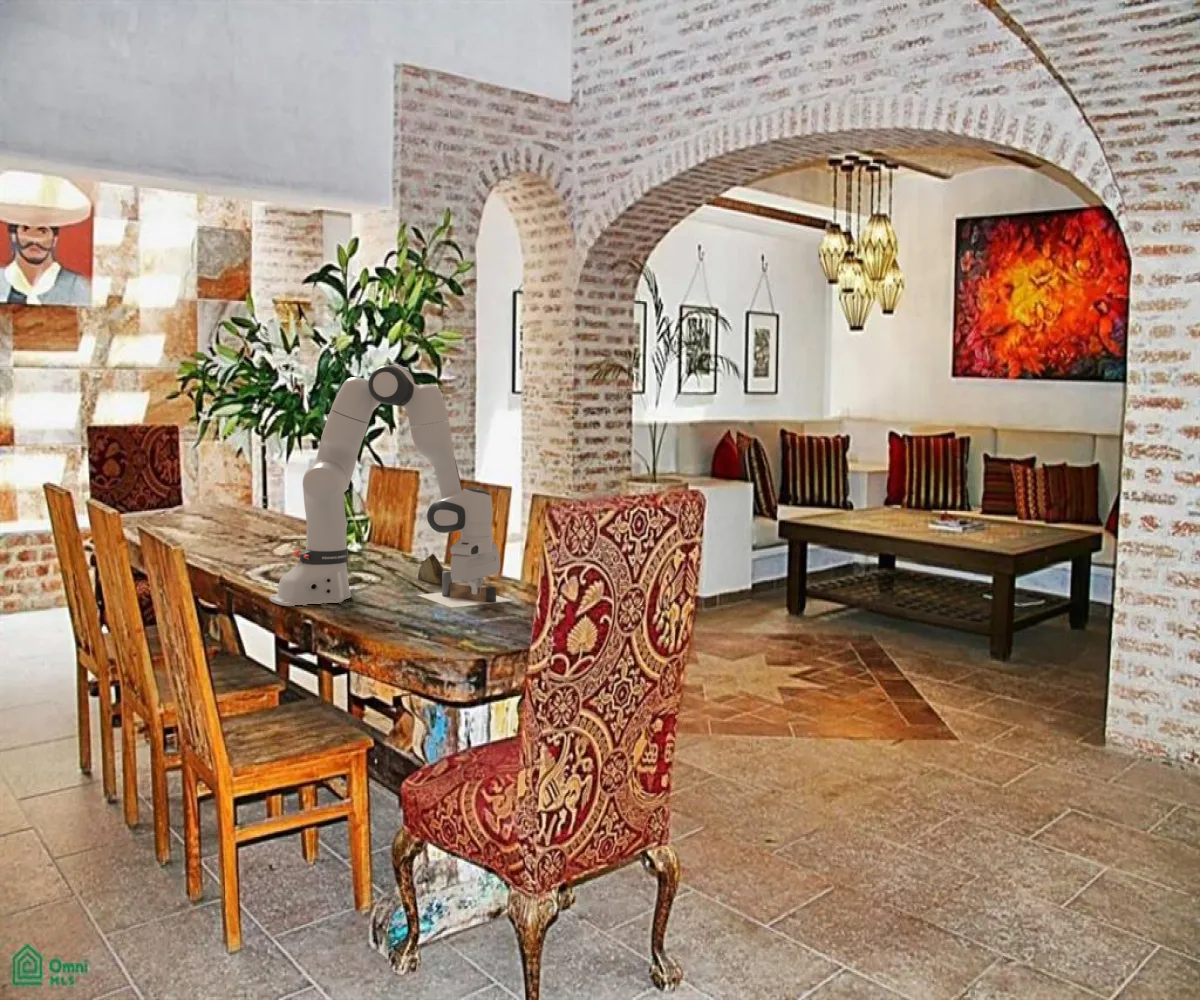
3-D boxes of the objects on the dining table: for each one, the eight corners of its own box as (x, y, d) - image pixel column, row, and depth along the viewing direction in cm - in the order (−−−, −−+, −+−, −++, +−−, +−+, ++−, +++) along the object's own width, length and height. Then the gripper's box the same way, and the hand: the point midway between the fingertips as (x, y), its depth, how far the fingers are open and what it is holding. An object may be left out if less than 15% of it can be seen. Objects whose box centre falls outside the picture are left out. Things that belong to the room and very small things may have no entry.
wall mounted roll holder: (451, 610, 308) (451, 582, 307) (416, 597, 324) (417, 571, 323) (512, 603, 320) (513, 576, 319) (476, 591, 336) (477, 566, 335)
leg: (449, 597, 321) (450, 583, 321) (455, 595, 324) (456, 582, 324) (492, 603, 316) (492, 588, 315) (498, 601, 318) (498, 587, 318)
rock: (408, 573, 349) (415, 575, 340) (424, 551, 351) (431, 552, 342) (435, 593, 352) (443, 595, 343) (451, 571, 354) (459, 572, 345)
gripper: (487, 540, 326) (486, 587, 327) (446, 548, 308) (446, 598, 309) (505, 541, 323) (505, 589, 324) (465, 550, 305) (465, 600, 306)
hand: (476, 593), depth 316 cm, fingers closed
